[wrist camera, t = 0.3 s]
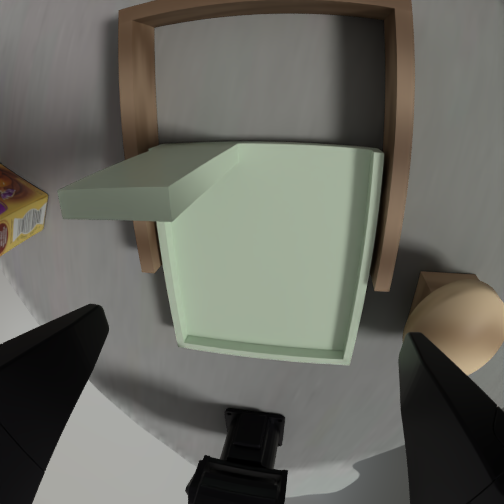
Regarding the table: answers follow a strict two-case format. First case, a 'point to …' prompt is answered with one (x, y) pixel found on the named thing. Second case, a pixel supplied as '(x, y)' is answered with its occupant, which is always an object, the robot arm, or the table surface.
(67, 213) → the tray
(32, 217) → the candy box
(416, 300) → the block
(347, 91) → the table surface
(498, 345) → the tan round disc
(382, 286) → the brown wooden frame
